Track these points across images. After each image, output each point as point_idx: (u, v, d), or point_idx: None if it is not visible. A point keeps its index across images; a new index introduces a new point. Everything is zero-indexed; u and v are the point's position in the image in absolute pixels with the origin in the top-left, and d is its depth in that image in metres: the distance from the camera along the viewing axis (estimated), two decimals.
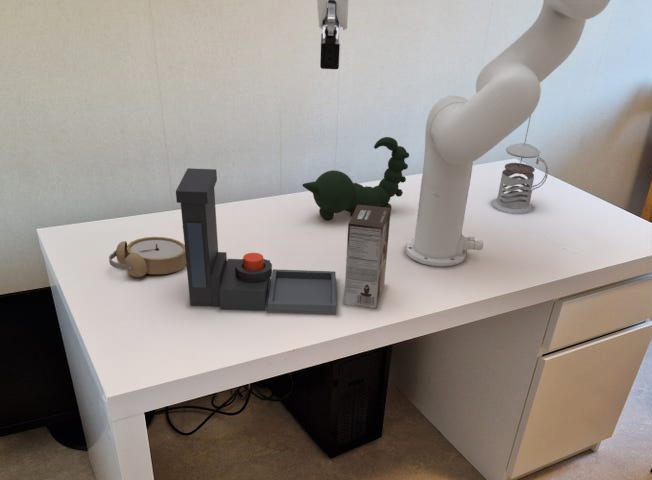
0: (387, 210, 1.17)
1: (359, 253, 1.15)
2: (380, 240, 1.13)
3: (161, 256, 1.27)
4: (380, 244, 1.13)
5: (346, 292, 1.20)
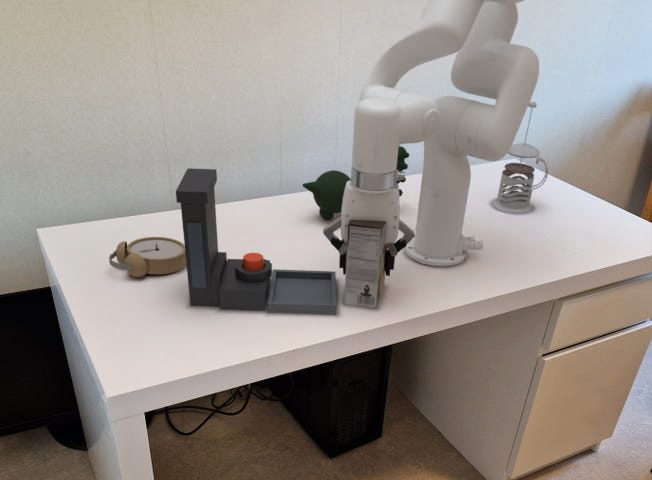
0: None
1: (359, 253, 1.15)
2: (380, 240, 1.13)
3: (161, 256, 1.27)
4: (380, 244, 1.13)
5: (346, 292, 1.20)
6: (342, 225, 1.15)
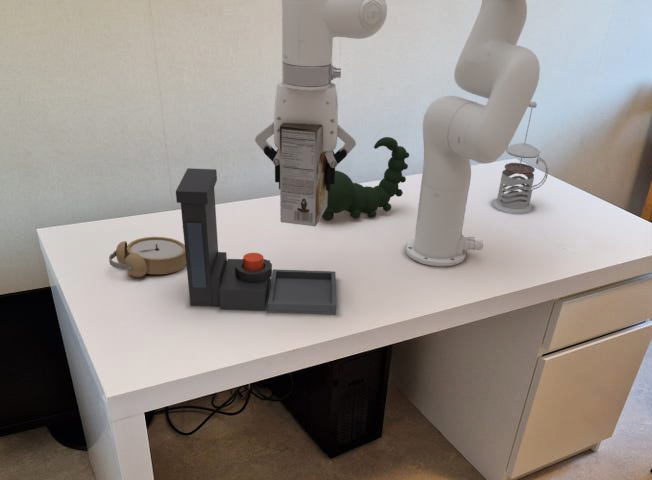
0: None
1: (293, 161, 1.05)
2: (315, 145, 1.02)
3: (161, 256, 1.27)
4: (315, 150, 1.03)
5: (282, 208, 1.10)
6: (274, 130, 1.04)
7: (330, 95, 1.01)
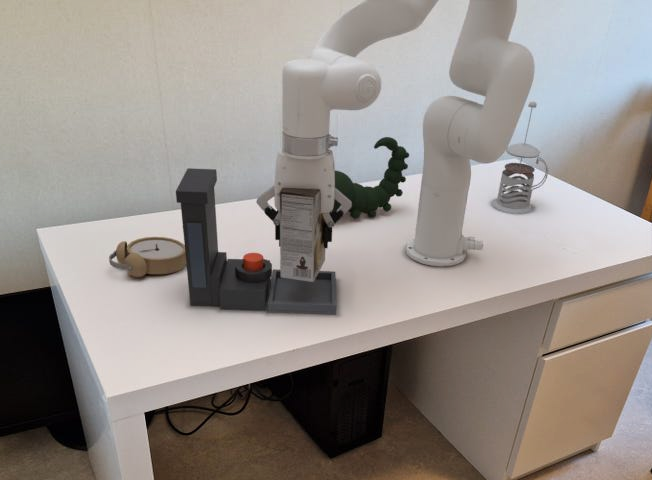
0: None
1: (292, 223, 1.10)
2: (313, 209, 1.08)
3: (161, 256, 1.27)
4: (313, 213, 1.09)
5: (282, 265, 1.15)
6: (275, 194, 1.10)
7: (327, 162, 1.07)
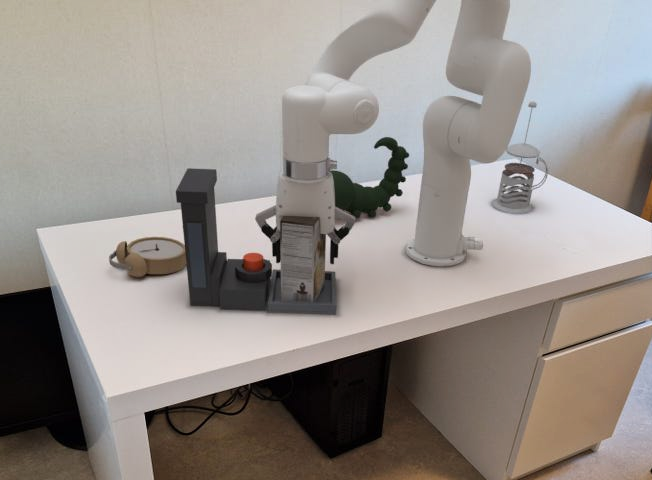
0: None
1: (292, 250, 1.13)
2: (313, 237, 1.11)
3: (161, 256, 1.27)
4: (313, 241, 1.12)
5: (282, 290, 1.18)
6: (276, 216, 1.13)
7: (327, 185, 1.09)
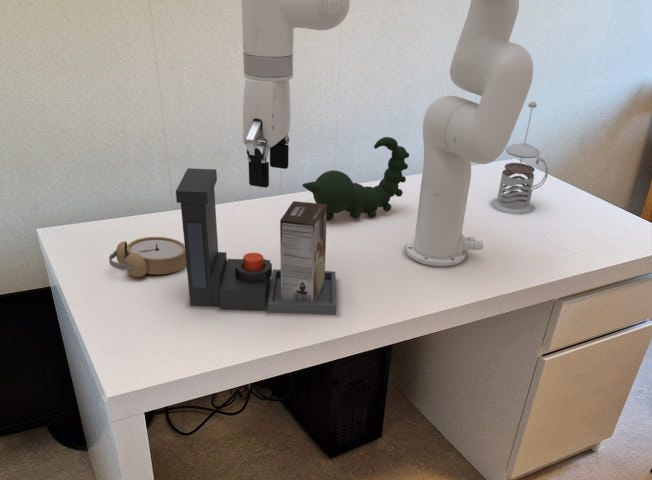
0: (322, 206, 1.16)
1: (292, 250, 1.13)
2: (313, 237, 1.11)
3: (161, 256, 1.27)
4: (313, 241, 1.12)
5: (282, 290, 1.18)
6: (268, 129, 1.01)
7: (288, 79, 1.04)
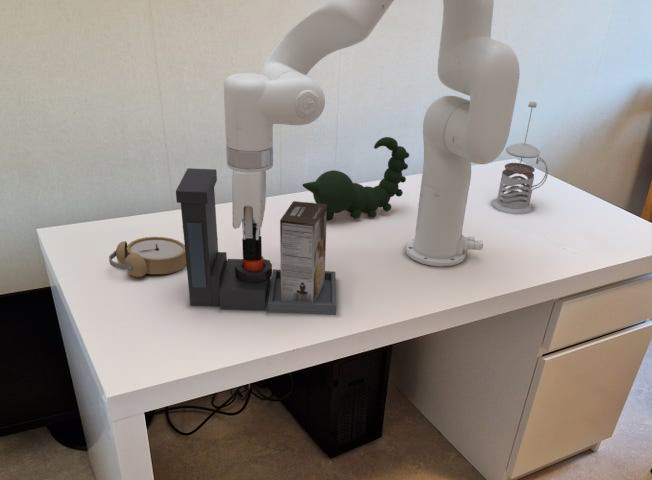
0: (322, 206, 1.16)
1: (292, 250, 1.13)
2: (313, 237, 1.11)
3: (161, 256, 1.27)
4: (313, 241, 1.12)
5: (282, 290, 1.18)
6: (258, 214, 1.09)
7: None
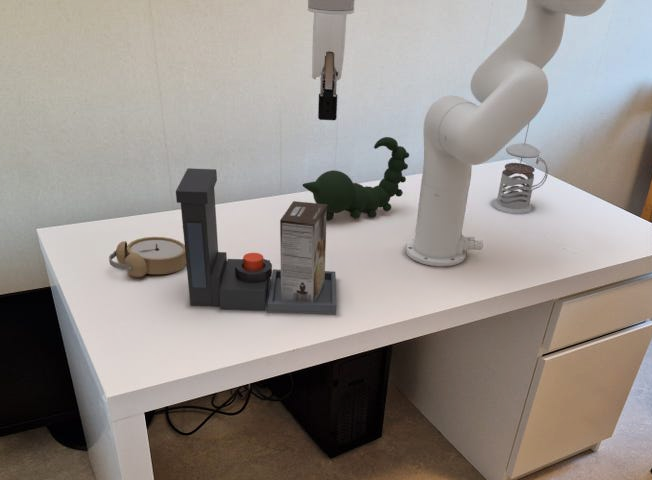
0: (322, 206, 1.16)
1: (292, 250, 1.13)
2: (313, 237, 1.11)
3: (161, 256, 1.27)
4: (313, 241, 1.12)
5: (282, 290, 1.18)
6: (340, 61, 1.07)
7: None
